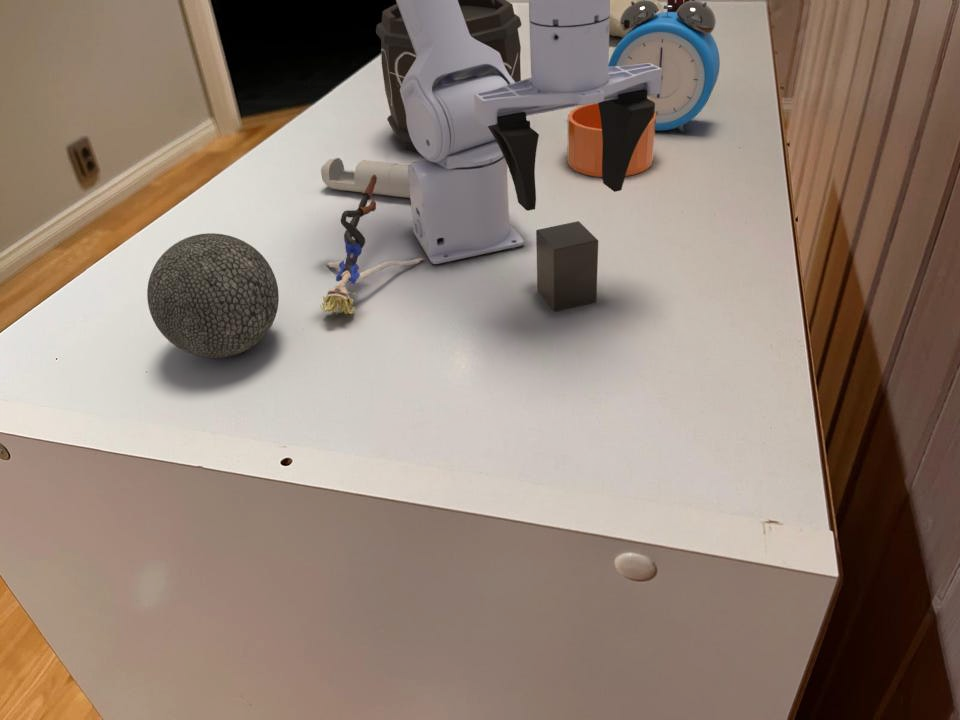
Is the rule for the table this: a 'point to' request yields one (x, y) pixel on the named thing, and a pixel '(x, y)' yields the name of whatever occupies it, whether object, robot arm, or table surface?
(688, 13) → the alarm clock
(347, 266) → the figurine
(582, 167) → the cup
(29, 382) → the table surface
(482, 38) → the wooden barrel
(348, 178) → the white notched cylinder
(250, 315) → the decorative ball
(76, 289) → the table surface
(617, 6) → the decorative stone
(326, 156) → the table surface
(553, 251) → the block
